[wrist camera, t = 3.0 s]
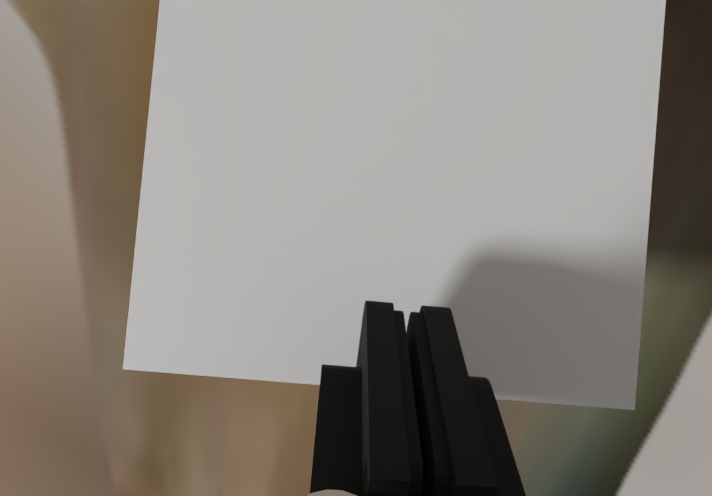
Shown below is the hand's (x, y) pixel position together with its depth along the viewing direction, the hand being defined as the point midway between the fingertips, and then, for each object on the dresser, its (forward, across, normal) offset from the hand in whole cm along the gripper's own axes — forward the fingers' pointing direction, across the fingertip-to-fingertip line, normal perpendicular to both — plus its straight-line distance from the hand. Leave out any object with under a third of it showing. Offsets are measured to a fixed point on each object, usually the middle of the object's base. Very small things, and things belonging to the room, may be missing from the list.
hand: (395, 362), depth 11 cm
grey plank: (+6, 0, -5) cm, 8 cm away
